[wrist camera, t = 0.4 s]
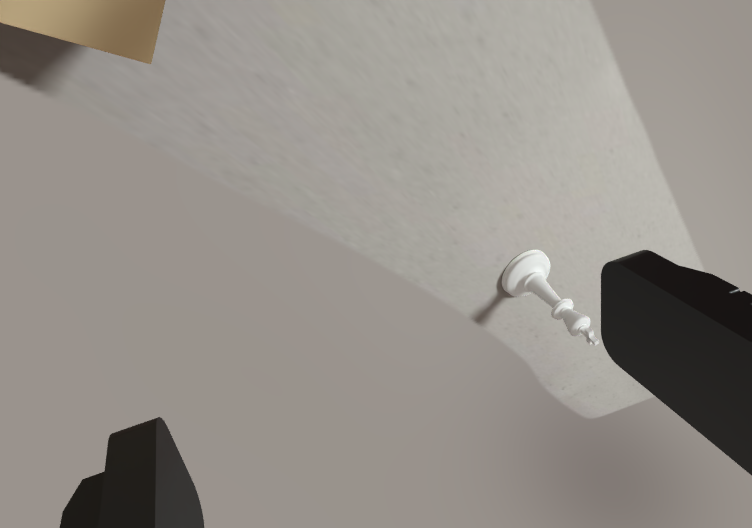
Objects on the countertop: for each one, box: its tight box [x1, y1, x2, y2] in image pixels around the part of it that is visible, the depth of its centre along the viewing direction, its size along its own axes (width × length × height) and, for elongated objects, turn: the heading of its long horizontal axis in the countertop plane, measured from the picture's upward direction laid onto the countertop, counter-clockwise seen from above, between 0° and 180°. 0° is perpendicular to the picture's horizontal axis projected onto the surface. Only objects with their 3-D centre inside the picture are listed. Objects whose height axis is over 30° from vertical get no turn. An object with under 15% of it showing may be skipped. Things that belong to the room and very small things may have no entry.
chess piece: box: [502, 250, 599, 345], centre depth 51 cm, size 5×5×10 cm
